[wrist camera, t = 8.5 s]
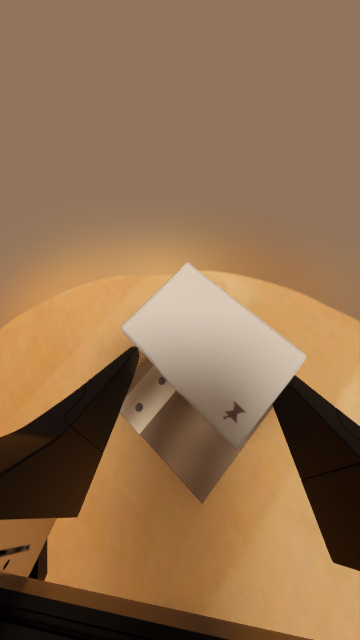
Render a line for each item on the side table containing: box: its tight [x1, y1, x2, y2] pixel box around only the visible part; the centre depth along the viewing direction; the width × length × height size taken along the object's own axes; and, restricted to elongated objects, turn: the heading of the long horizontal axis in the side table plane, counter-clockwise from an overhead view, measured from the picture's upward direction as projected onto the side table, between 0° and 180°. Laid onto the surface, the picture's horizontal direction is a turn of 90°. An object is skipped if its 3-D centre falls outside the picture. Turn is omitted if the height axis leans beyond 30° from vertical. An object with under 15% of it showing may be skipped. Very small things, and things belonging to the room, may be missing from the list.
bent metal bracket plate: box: [120, 358, 273, 503], centre depth 16 cm, size 14×16×2 cm
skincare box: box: [121, 263, 307, 449], centre depth 11 cm, size 6×4×12 cm
